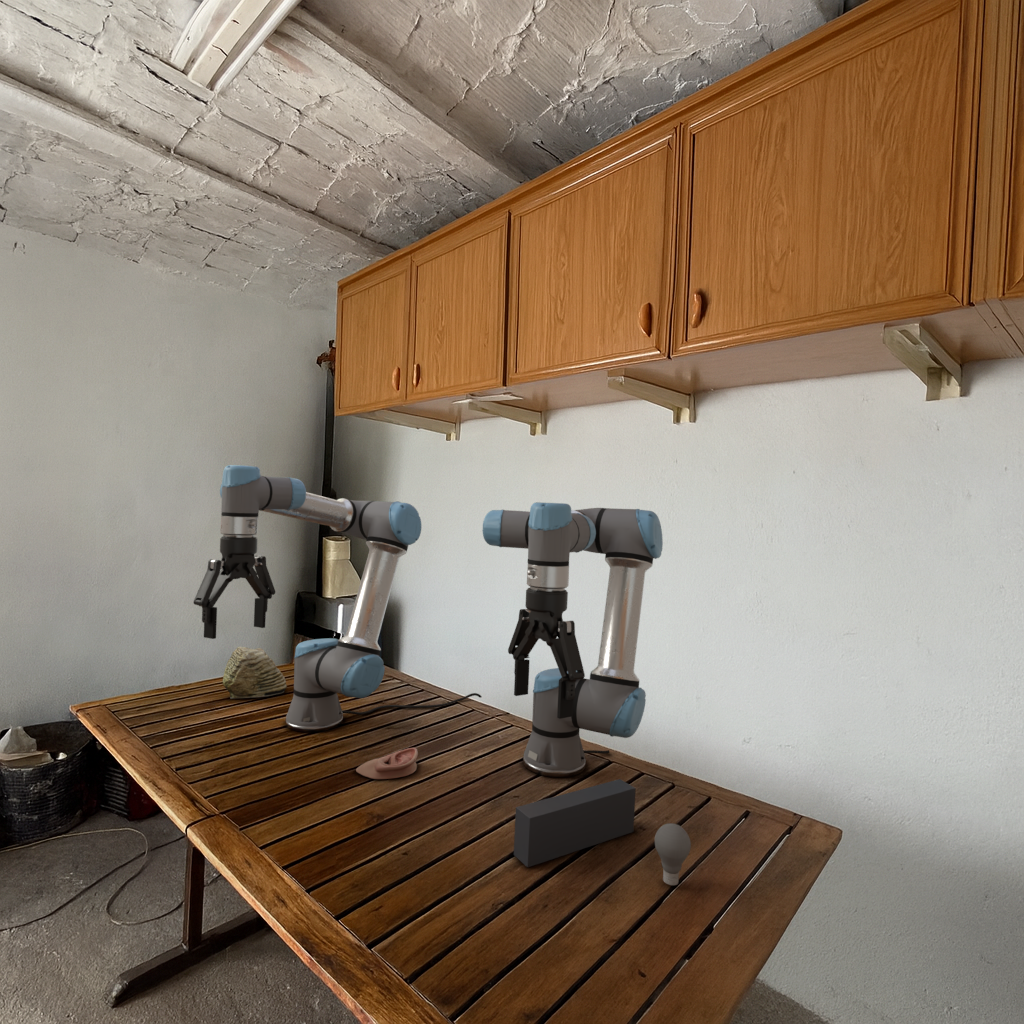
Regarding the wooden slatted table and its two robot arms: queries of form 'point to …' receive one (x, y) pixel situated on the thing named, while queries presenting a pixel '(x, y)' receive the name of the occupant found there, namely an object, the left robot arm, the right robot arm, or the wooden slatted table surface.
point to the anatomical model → (390, 765)
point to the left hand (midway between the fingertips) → (235, 632)
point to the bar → (573, 821)
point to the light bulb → (672, 850)
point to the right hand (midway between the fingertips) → (541, 705)
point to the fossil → (252, 674)
